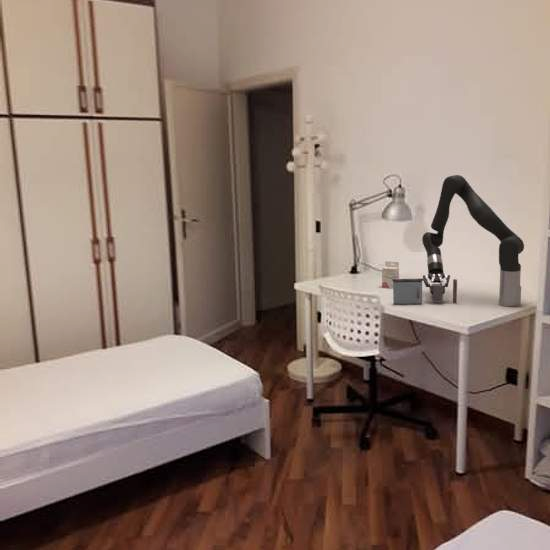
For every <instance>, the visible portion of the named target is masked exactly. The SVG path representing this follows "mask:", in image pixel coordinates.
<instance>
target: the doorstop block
mask: <svg viewBox="0 0 550 550" xmlns="http://www.w3.org/2000/svg"><path fill="white" fill-rule="evenodd" d="M432 286H433V294H432V293H431V301H432V302H434V303H435V302H441V303H442V302H443V300H444V299H443V297H444V296H443V295H444V294H443V286H442V284H440V283H433V285H432Z"/></svg>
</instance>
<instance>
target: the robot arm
mask: <svg viewBox="0 0 550 550" xmlns="http://www.w3.org/2000/svg"><path fill="white" fill-rule="evenodd" d="M441 185H442V186H441V191H440V197H439V199H438V205H437V208H436V211H435V214H434V217H433V219H432V221H431V225H430V227H431V229H432V230H433V231H435V232H436V233H434V232H425V233H423V235H422V238H421V239H422V240H421V241H422V245H423V246H424V249H425V251H426V257H427V260H426V262H427V273H428V274H427V275H424V274H423V275H422V279H423V281H422V282H423V283H424V285H425V288H429V293H430V294H431V295H432V294H433V286H432V285H433V284H442V286H443V295H444V294H445V293H446V288H448V287H449V282H450V278H451V275H450V274H448V275H446V274H445V273H444V263H443V258H442V251H441V248H440V247H441V246H442V244H443V241H444V234H445V228H446V225H447V223H448V220H449V218H450V217H449V216H450V207H451V202H452V200H453V198H454V196H455V195H457V196H458V197H460V198H461V199H462V201H463V202H464V204H465V205H466V207H467V210H468V212H469V215H470V216H471V217H472V219H473V220H474V221H475V222H476V223H477V224H478V226H480V227H481V228H483V229H484V230H486V231H487V232H489V233H491V234H492V235H494V236H495V237H496V239H498V240H499V242H500V243H499V247H498V264H499V272H500V274H499V293H498V295H499V297H498V298H499V299H498V304H499V305H500V306H503V307H517V306H521V301H522V300H521V299H522V286H521V273H522V272H521V271H522V265H521V263H520V262H519V255H520V254H521V253H522V252H523V251H524V249H525V244H524V241H523V239H522V238H521V237H520V236H518V235H517V234H516V233H515V232H514V231H513V230H511V229H510V228H509V227H508V226H507V225H506V224H505V223H504V221H503V220H502V219H501V218H500V217H499V216H498V214H496V212H495V211H494V210H493V209H492V208H491V207H490V206H489V205H488V204H487V203H486V202H485V201H484V200H483V199H482V198H481V197H480V196H479V194H478V193H477V192H475V190H474V189H473V188H472V186H471V185H470V183H469V182H468V181H467V180H466V178H464V176H462V175H460V174H455V175H450V176H447V177H445V179H444V180H443V182H442V184H441ZM428 279H429V281H430V283H429V281H428ZM444 279H445V280H446V281H445V282H444Z"/></svg>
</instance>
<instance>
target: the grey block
mask: <svg viewBox="0 0 550 550" xmlns="http://www.w3.org/2000/svg"><path fill="white" fill-rule="evenodd" d="M410 304H411V305H412V304H413V305H416V304H417V305H419V304H420V305H421V304H423V281H422V282H394V305H410Z"/></svg>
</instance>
